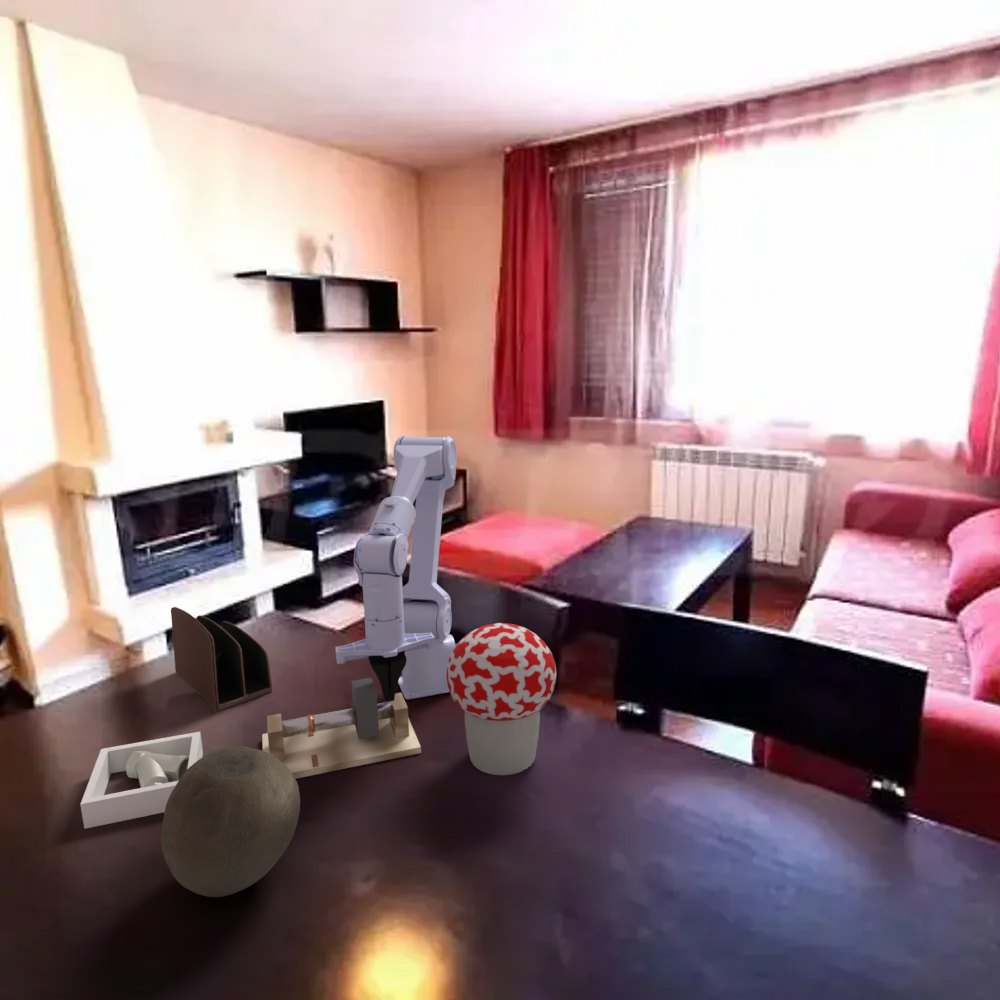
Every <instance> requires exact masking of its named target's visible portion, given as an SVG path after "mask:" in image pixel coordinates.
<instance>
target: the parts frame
mask: <svg viewBox="0 0 1000 1000" xmlns="http://www.w3.org/2000/svg"><path fill="white" fill-rule="evenodd" d="M201 735H202V734H201V731H195V732H191V733H190V732H189V733H185V734H178V735H173V736H167V737H161V738H156V739H151V740H144V741H139V742H133V743H128V744H127V743H126V744H121V745H117V746H110V747H105V748H101V749H100V750H99V754H98V757H97V759H96V761H95V764H94V766H93V770H92V773H91V775H90V778H89V779H88V780H89V781H88V783H87V786H86V788H85V791H84V794H83V796H82V799H81V802H80V803H79V804H80V810H81V811H80V812H81V817H82V821H83V828H84V830H85V829H90V828H94V827H99V826H104V825H110V824H114V823H115V824H116V823H118V822H119V823H120V822H123V821H129V820H133V819H137V818H143V817H144V818H145V817H148V816H152V815H153V816H154V815H157V814H162V813H163V814H164V812H165V807H166V804H167V801H168V799H169V797H170V795H171V792H172V791H173V789H174V788H175V786H176V784H177V783H178V781H174V782H169V783H164V784H159V785H154V786H148V787H143V788H141V787H139V788H134V789H130V790H129V789H128V790H124V791H119V792H115V793H109V794H106V790H107V787H108V785H109V784H108V783H109V781H110V778H111V775H112V774H115V773H120V772H126V763H127V761H128V759H129V757H130V755H131V754H132V753H133V752H135V751H141V750H144V751H151V753H156V754H165V755H173V756H179V755H185V756H189V762H188V768H189V767H190V766H192V765H193V764H194V763H195V762H196V761H198V760H199V759H201V758H202V757H203V754H204V751H203V744H202V743H203V742H202V736H201ZM188 768H187V769H188Z"/></svg>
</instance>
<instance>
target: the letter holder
mask: <svg viewBox="0 0 1000 1000" xmlns="http://www.w3.org/2000/svg"><path fill="white" fill-rule="evenodd" d="M170 616H171V629H172V633H171V635H172V644H173V646H172V647H173V655H174V656H173V657H174V667H175V668H174V670H175V673H176V674H177V675H178V676H179V677H180V678H181V679H183V680H184V681H185V682H186V684H188V685H189V687H190V688H192V689H193V690H194V691H195V692H196V693H197V694H198V695H199V696H200V697H201V698H202V699H203V700H204V701H205V702H206V703H207V704H208V706H209V705H210V706H211V708H212V709H213V710H214V711H215V712H219V711H222V710H225V709H229V708H230V707H233V706H237V705H238V704H242V703H245V702H248V701H250V700H252V699H253V698H254V699H256V698H259V697H262V696H264V694H265V695H267V694H266V693H268V694H270V693H272V692H273V684H272V677H271V675H272V674H271V668H270V661H269V656H268V653H267V650H266V649H265V648H264V647H263V645H262V644H260V643H259V642H258V641H257V640H256V639H255V638H254V637H252V636H251V634H248V633H247V632H246V631H244V630H243V629H241V628H240V627H239V626H237V625H235V624H233V623H231V622H229V621H226V620H224V621H221V625H219V624H218V623H216V622H215V621H214V620H212V619H211V618H209V617H206V616H204V615H198V616H197V617H194V616H193V615H192V614H191V613H189V612H187V611H185V610H184V609H181V608H180V607H177V606H173V607H171V608H170ZM269 692H270V693H269ZM261 695H262V696H261Z"/></svg>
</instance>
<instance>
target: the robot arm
mask: <svg viewBox="0 0 1000 1000" xmlns="http://www.w3.org/2000/svg"><path fill="white" fill-rule="evenodd" d="M456 445H457V444H456V442H455V440H454V439H453V438H452V437H451V436H448V435H447V436H445V437H444V436H438V437H436V436H405V435H400V436H399V437H397V439H396V441H395V443H394V446H393V453H392V454H393V463H394V466H395V469H396V476H395V479H394V482H393V487H392V490H391V494H390V496H389V497H385V498H384V499H383V500H381V502H380V504H379V507H378V509H377V511H376V514H375V516H374V519H373V521H372V524H370V529H369V531H368V533H367V534H365V535H364V536H363V537H360V538H359V539H358V540H357V541H356V543H355V547H354V554H353V567H354V570H355V572H356V573H357V577H358V579H357V580H358V584H359V586H360V587H362V594H363V595H362V596H363V598H362V599H363V614H364V615H363V617H364V629H365V638H364V639H361V640H357V641H355V642H352V643H347V644H344V645H339V646H335V647H334V648H335V660H336V663H337V665H340V664H343V665H344V664H345V663H346V662H348V661H354V660H360V659H368V661H369V664H370V667H371V669H372V670H373V672H374V674H375V675H376V677H377V679H378V682H379V684H380V687H381V691H382V697H383V700H384V702H389V701H394V698H395V694H396V690H397V686H399V687H400V690H401V693H402V695H403V698H404V700H413V699H419V698H423V697H430V696H435V695H440V694H445V693H450V691H449V688H448V685H447V678H446V675H447V664H448V661H449V658H450V655H451V653H452V651H453V650H454V648H455V646H456V645H457V644H456V642H455V639H454V636H453V635H452V634H450V632H451V628H452V621H453V619H452V618H453V616H452V615H453V614H452V613H453V612H452V600H451V597H450V595H449V593H448V592H446V591H445V589H443V588H442V587H441V586H440V585H439V584H438V583H437V582H438V581H437V580H438V572H439V571H438V570H439V568H438V567H439V559H440V557H439V556H440V544H441V543H440V542H441V532H442V520H443V519H442V518H443V508H444V507H443V506H444V500H445V495H446V490H447V491H448V489H450V488H452V487H453V486H454V485H455V480H456V476H457V475H456V474H457V460H458V453H457V446H456ZM414 502H415V506H414ZM412 527H413V528H412ZM412 529H413V531H412ZM411 531H412V532H413V533H412V542H411V553H410V554H411V555H410V562H409V563H410V564H409V576H408V582H407V583H406V584H404V585H403V577H402V576H403V574H404V572H405V569H406V567H407V561H408V551H409V545H410V544H409V541H408V539H409V536H410V533H411ZM412 600H421V602H419V601H412ZM422 600H423V601H434V602H435V603H434V602H422Z"/></svg>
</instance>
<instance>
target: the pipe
mask: <svg viewBox="0 0 1000 1000" xmlns="http://www.w3.org/2000/svg"><path fill="white" fill-rule="evenodd" d="M377 707H378V720H382V719H388V718H393V706H392V702H391V701H390V702H385V701H384V702H381V703H380V702H379V703H377ZM355 724H357V715H356V709H355V708H353V707H351V708H346V709H341V710H336V711H335V710H334V711H328V712H323V713H318V714H308V715H305V716H300V717H295V718H290V719H284V720H282V730H283V738H285V737H291V736H296V735H302V734H307V733H309V734H311V733H315V732H318V731H323V730H328V729H334V728H339V727H345V726H350V725H355Z"/></svg>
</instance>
